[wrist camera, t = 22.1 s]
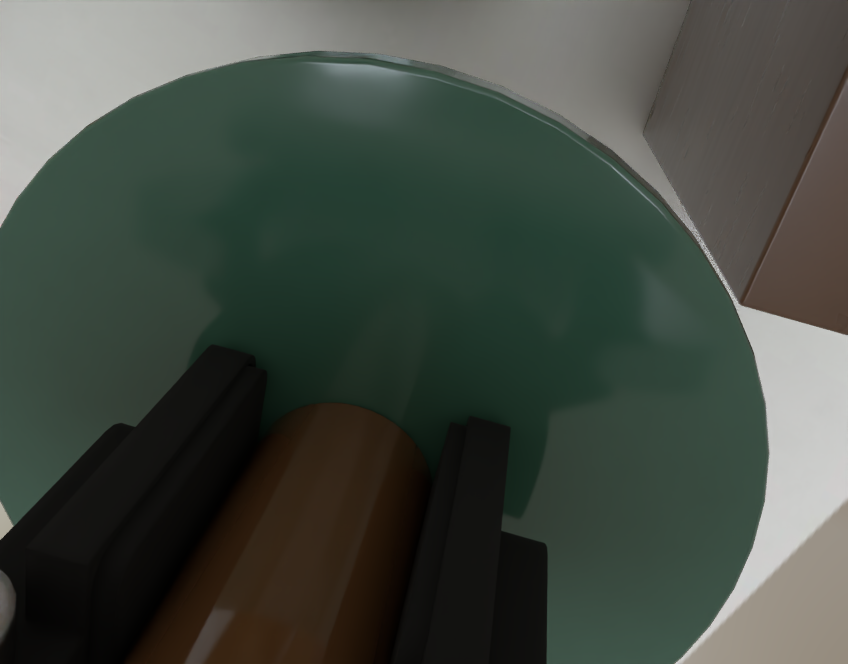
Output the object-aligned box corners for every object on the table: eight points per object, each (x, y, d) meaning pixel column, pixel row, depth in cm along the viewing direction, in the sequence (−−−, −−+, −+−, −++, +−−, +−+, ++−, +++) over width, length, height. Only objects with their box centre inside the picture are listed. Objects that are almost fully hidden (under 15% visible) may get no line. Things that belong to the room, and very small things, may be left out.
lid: (899, 177, 9) (1471, 523, 3) (599, 763, 14) (632, 1314, 8) (17, -54, 9) (-781, -87, 4) (20, 594, 14) (-333, 1008, 8)
